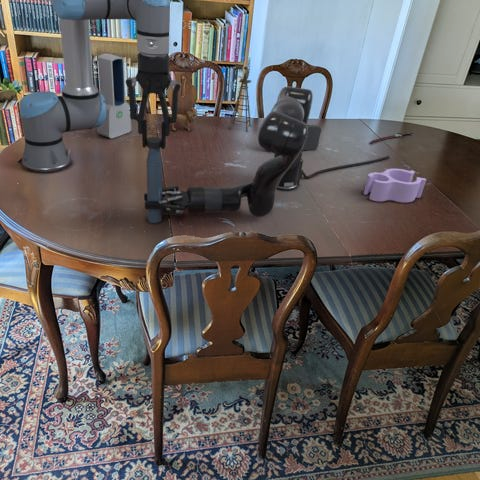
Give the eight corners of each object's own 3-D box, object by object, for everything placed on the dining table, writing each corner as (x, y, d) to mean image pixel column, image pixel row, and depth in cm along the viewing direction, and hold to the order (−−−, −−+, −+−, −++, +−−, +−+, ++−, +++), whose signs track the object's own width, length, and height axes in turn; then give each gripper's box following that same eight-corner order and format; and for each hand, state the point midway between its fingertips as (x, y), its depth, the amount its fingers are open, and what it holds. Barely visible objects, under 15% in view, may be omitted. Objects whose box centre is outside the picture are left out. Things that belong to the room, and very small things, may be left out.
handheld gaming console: (315, 147, 196) (319, 124, 190) (317, 149, 194) (322, 126, 188) (264, 149, 189) (267, 125, 183) (266, 152, 187) (269, 127, 181)
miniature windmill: (247, 131, 204) (254, 60, 188) (228, 128, 205) (234, 57, 189) (250, 125, 212) (258, 55, 196) (232, 122, 213) (238, 53, 197)
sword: (407, 132, 223) (408, 129, 223) (413, 134, 221) (413, 131, 221) (364, 143, 208) (365, 141, 207) (370, 146, 206) (370, 143, 205)
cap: (153, 141, 126) (153, 135, 125) (165, 145, 124) (165, 139, 123) (143, 146, 123) (143, 139, 122) (155, 150, 121) (155, 143, 120)
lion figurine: (195, 126, 204) (195, 105, 199) (198, 130, 200) (199, 109, 195) (161, 127, 199) (161, 106, 194) (164, 131, 195) (164, 110, 190)
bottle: (151, 214, 138) (150, 138, 125) (164, 217, 137) (164, 141, 124) (145, 221, 134) (143, 143, 122) (158, 224, 134) (157, 146, 121)
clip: (376, 205, 156) (381, 186, 152) (357, 188, 166) (361, 170, 162) (425, 200, 162) (431, 182, 159) (404, 184, 172) (409, 167, 168)
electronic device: (109, 139, 182) (104, 59, 166) (96, 134, 185) (89, 55, 169) (132, 131, 192) (129, 55, 175) (118, 127, 195) (114, 51, 178)
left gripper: (113, 53, 107) (118, 149, 120) (188, 60, 108) (185, 154, 121) (119, 46, 113) (124, 138, 126) (191, 53, 115) (188, 143, 127)
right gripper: (201, 177, 139) (143, 178, 135) (209, 200, 128) (145, 201, 124) (200, 199, 143) (143, 200, 140) (207, 223, 132) (145, 225, 128)
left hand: (154, 146), depth 123 cm, fingers open, 4 cm apart
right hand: (144, 201), depth 132 cm, fingers closed on bottle, 4 cm apart
